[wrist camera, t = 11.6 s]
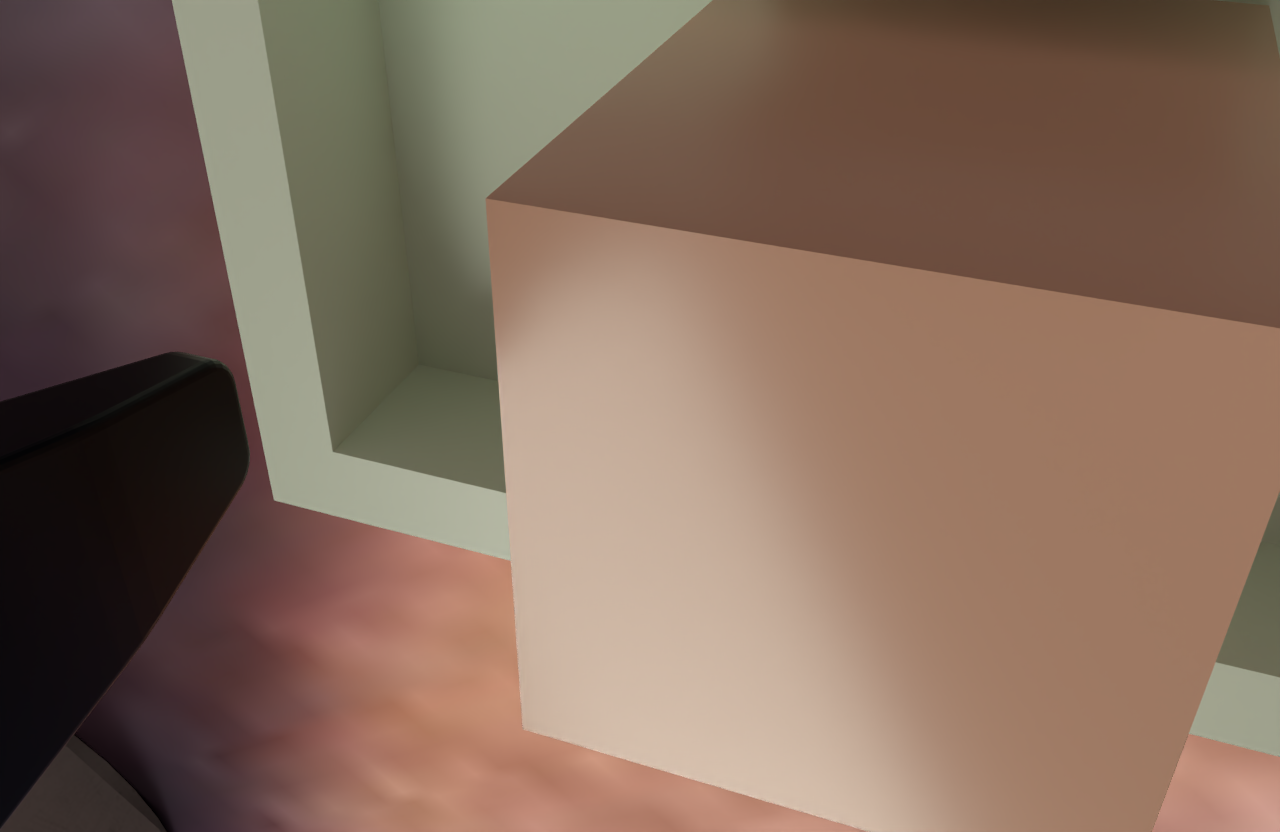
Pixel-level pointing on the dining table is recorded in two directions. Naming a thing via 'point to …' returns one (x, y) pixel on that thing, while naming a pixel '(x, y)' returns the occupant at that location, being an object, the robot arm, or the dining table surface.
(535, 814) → the dining table surface
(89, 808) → the coffeepot
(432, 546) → the dining table surface
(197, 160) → the dining table surface
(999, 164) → the tan block
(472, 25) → the green bin
